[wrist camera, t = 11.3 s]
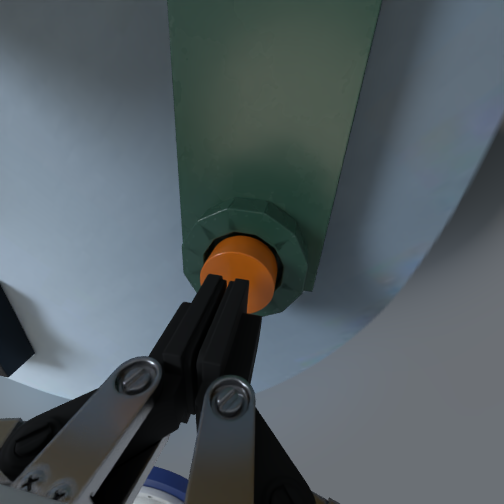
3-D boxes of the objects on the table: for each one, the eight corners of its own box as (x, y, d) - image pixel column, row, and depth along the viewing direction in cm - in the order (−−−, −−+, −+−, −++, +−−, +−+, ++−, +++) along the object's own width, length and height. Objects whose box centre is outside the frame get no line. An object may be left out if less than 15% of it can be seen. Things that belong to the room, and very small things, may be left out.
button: (273, 298, 14) (269, 320, 13) (211, 287, 15) (200, 307, 13) (282, 240, 13) (279, 258, 11) (210, 230, 13) (198, 246, 12)
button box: (307, 286, 18) (308, 329, 15) (197, 268, 19) (173, 304, 15) (415, -186, 8) (492, -389, 5) (181, -177, 9) (110, -342, 6)
